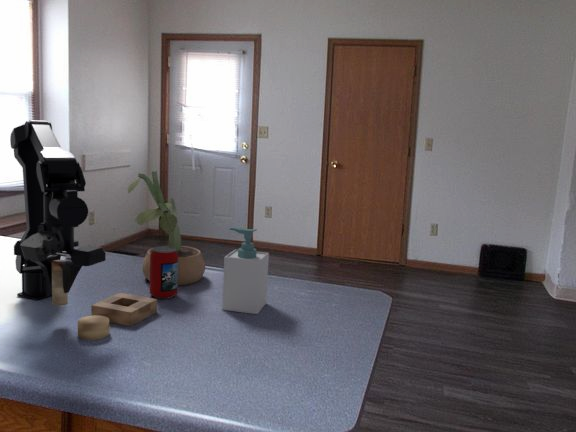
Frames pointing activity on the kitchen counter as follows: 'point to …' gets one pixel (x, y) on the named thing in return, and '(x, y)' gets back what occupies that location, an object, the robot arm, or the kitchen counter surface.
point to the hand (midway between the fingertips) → (59, 291)
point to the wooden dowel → (58, 285)
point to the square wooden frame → (125, 308)
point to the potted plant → (170, 234)
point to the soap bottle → (245, 277)
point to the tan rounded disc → (93, 327)
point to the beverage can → (163, 272)
